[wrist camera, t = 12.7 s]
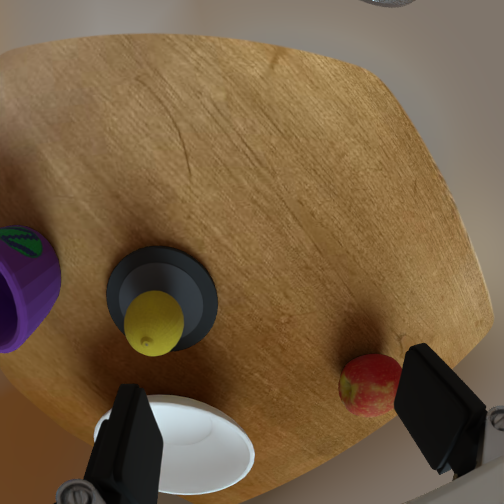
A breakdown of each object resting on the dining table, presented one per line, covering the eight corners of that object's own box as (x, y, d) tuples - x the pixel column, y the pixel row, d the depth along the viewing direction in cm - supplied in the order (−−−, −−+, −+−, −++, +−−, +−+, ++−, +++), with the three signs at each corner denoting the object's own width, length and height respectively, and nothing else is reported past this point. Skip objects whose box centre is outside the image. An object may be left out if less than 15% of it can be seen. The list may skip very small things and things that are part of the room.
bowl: (114, 343, 33) (97, 378, 27) (270, 385, 37) (280, 423, 30) (102, 440, 37) (92, 473, 31) (224, 469, 41) (227, 502, 35)
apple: (341, 342, 36) (367, 381, 29) (396, 341, 38) (427, 374, 30) (325, 392, 38) (345, 433, 31) (378, 388, 40) (402, 424, 32)
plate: (105, 242, 30) (102, 244, 29) (220, 248, 32) (220, 251, 31) (113, 343, 33) (111, 347, 32) (215, 351, 35) (215, 355, 34)
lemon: (197, 312, 32) (193, 356, 25) (154, 335, 32) (141, 380, 25) (167, 269, 31) (153, 303, 23) (124, 294, 31) (101, 332, 23)
